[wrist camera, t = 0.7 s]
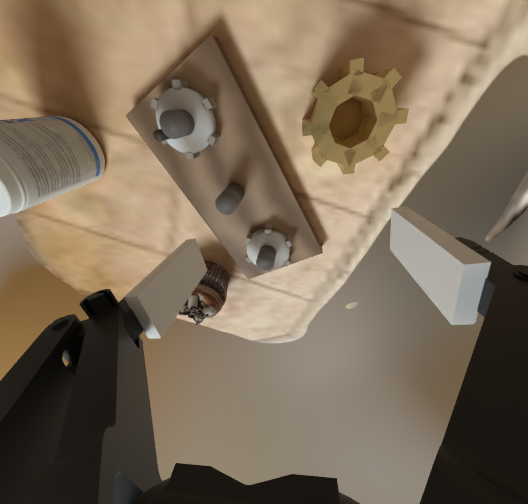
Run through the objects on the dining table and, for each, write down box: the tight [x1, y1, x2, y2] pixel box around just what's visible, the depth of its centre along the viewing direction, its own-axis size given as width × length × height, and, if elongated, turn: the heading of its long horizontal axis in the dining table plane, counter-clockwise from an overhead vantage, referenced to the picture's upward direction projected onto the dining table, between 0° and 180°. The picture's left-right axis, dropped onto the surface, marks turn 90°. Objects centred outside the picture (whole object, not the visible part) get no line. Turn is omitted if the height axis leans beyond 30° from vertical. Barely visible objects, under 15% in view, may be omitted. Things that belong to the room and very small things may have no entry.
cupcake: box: [179, 261, 229, 325], centre depth 42 cm, size 10×10×10 cm
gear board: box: [126, 34, 323, 279], centre depth 32 cm, size 15×31×7 cm, turn 30°
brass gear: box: [302, 57, 409, 174], centre depth 25 cm, size 10×10×6 cm
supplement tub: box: [0, 116, 105, 217], centre depth 29 cm, size 10×10×15 cm
